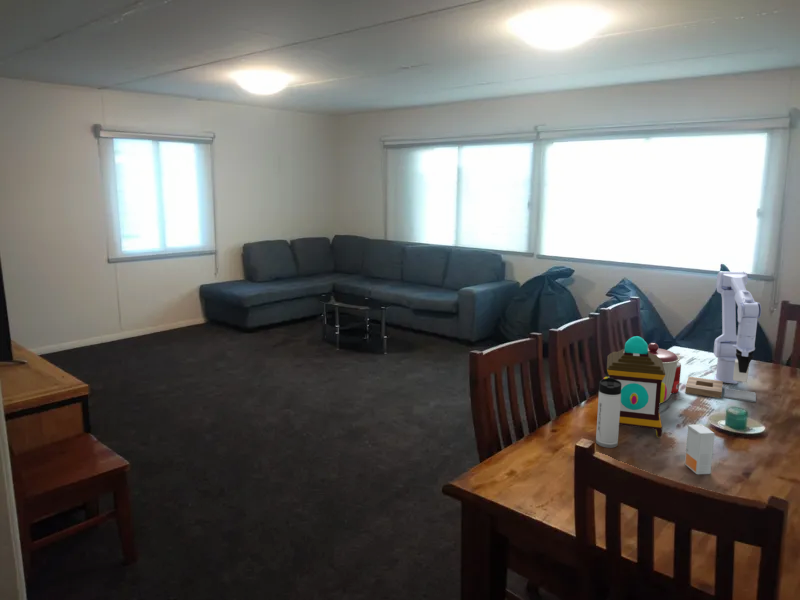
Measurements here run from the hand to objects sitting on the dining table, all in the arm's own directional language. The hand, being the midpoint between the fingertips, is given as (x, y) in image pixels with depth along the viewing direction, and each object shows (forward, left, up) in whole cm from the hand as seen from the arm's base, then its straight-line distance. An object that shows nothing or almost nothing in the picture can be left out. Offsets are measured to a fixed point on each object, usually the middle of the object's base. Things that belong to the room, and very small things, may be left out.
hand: (742, 370), depth 214 cm
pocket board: (-1, -12, -10) cm, 16 cm away
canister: (+19, -29, -10) cm, 36 cm away
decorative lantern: (+48, -31, -10) cm, 58 cm away
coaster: (0, 0, -10) cm, 10 cm away
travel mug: (+67, -35, -10) cm, 76 cm away
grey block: (0, 0, -4) cm, 4 cm away
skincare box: (+72, -10, -10) cm, 73 cm away
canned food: (+6, -24, -10) cm, 27 cm away
